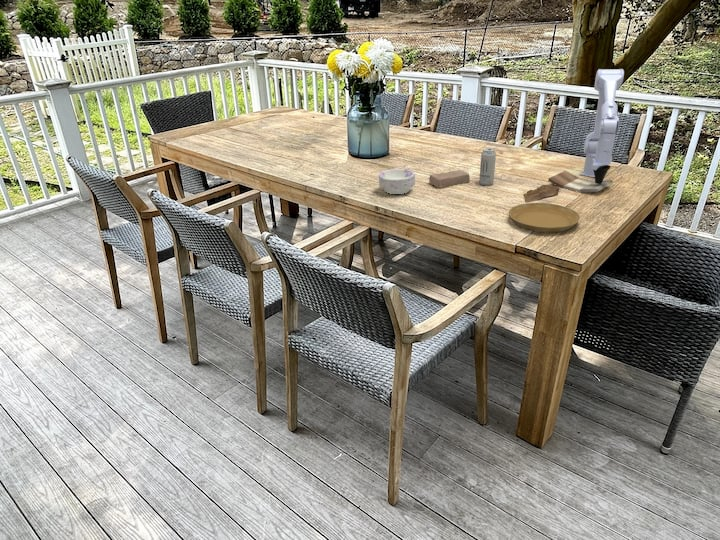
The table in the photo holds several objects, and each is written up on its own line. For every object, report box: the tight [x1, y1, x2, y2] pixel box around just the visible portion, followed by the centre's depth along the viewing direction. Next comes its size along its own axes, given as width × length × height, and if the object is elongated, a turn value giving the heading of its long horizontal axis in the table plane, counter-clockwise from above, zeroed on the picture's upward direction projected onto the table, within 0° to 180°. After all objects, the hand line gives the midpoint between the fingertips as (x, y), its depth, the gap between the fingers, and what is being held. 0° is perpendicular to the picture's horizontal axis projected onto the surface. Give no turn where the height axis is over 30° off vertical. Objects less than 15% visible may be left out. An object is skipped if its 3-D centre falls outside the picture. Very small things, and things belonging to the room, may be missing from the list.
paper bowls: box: [378, 168, 416, 195], centre depth 217 cm, size 15×15×8 cm
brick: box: [428, 169, 471, 189], centre depth 225 cm, size 17×8×5 cm, turn 117°
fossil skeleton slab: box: [522, 183, 561, 204], centre depth 210 cm, size 26×11×1 cm, turn 130°
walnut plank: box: [547, 170, 580, 189], centre depth 220 cm, size 14×7×1 cm, turn 133°
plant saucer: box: [508, 202, 581, 234], centre depth 184 cm, size 24×24×3 cm
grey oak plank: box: [579, 179, 614, 193], centre depth 210 cm, size 14×7×1 cm, turn 133°
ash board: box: [562, 177, 595, 193], centre depth 216 cm, size 14×7×1 cm, turn 133°
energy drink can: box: [478, 147, 497, 187], centre depth 220 cm, size 6×6×15 cm
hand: (598, 183), depth 209 cm, fingers closed
